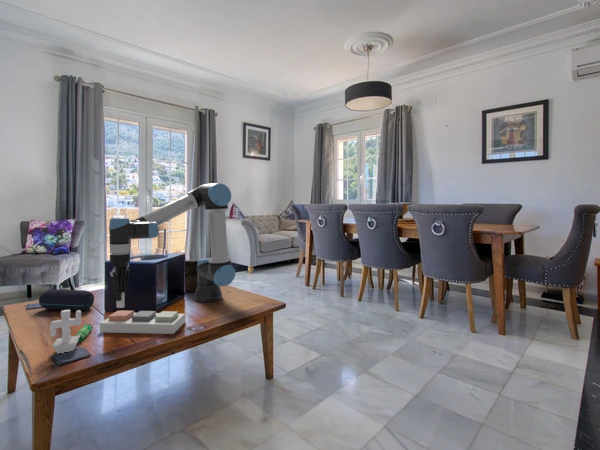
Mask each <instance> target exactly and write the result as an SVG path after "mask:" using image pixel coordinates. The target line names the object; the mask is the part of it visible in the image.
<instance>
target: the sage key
mask: <svg viewBox="0 0 600 450" xmlns="http://www.w3.org/2000/svg"><path fill="white" fill-rule="evenodd" d="M159 313H160V314H158V315H157V316H156V317H155V322H173V321H174V320H175V319H176V318H177V317H178V314H179V311H175V310H174V311H168V310H165V311H164V310H162V311H161V312H159Z"/></svg>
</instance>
